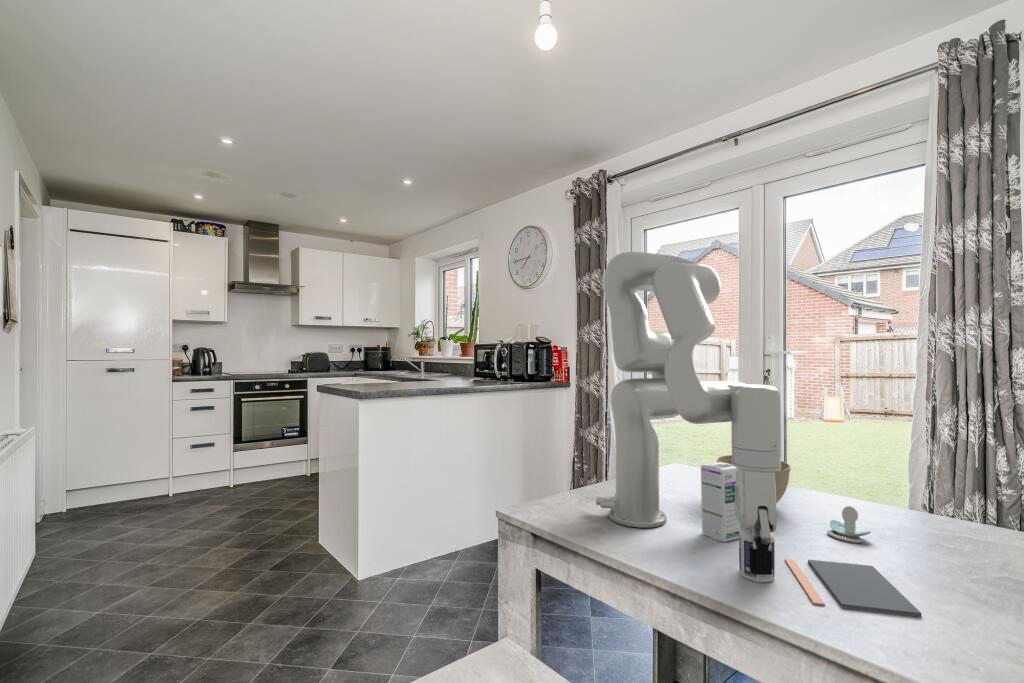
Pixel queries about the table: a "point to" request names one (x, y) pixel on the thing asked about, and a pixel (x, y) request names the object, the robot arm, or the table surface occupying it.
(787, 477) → the planter bowl
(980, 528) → the table surface
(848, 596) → the mat
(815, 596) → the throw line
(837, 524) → the pacifier
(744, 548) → the pill bottle
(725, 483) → the syrup box
